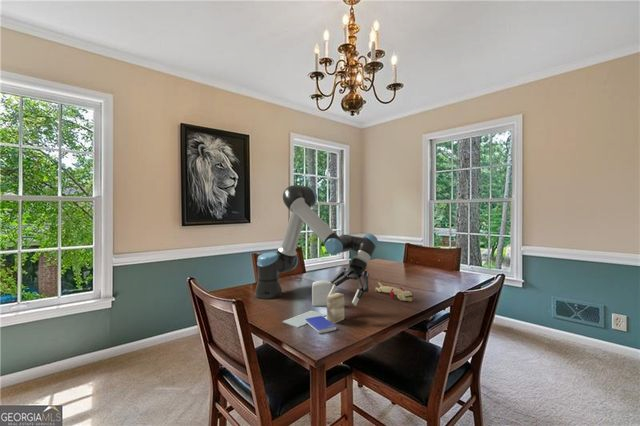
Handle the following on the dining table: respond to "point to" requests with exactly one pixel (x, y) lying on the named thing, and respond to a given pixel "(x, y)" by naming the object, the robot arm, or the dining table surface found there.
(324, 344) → the dining table surface
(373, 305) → the dining table surface
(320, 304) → the photo printer
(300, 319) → the mat
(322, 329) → the hard drive
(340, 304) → the birch block
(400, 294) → the cat figure
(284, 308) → the dining table surface
